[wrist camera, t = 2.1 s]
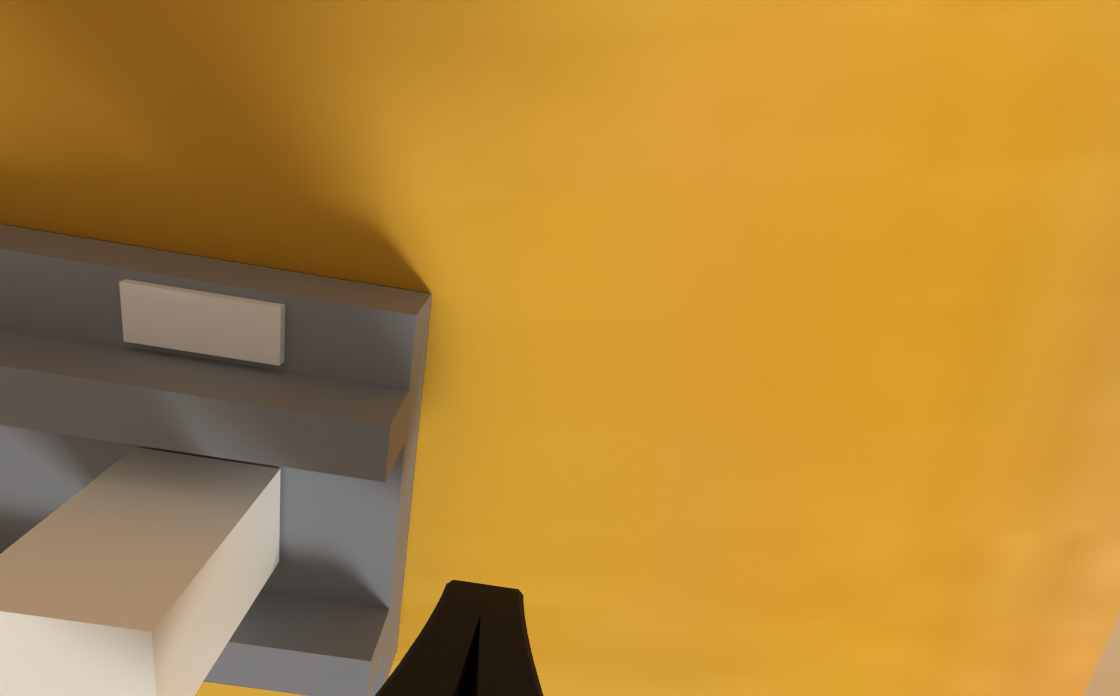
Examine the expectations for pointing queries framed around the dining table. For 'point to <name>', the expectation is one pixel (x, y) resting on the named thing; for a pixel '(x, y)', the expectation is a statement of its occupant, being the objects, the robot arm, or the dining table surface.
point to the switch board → (228, 424)
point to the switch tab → (138, 578)
